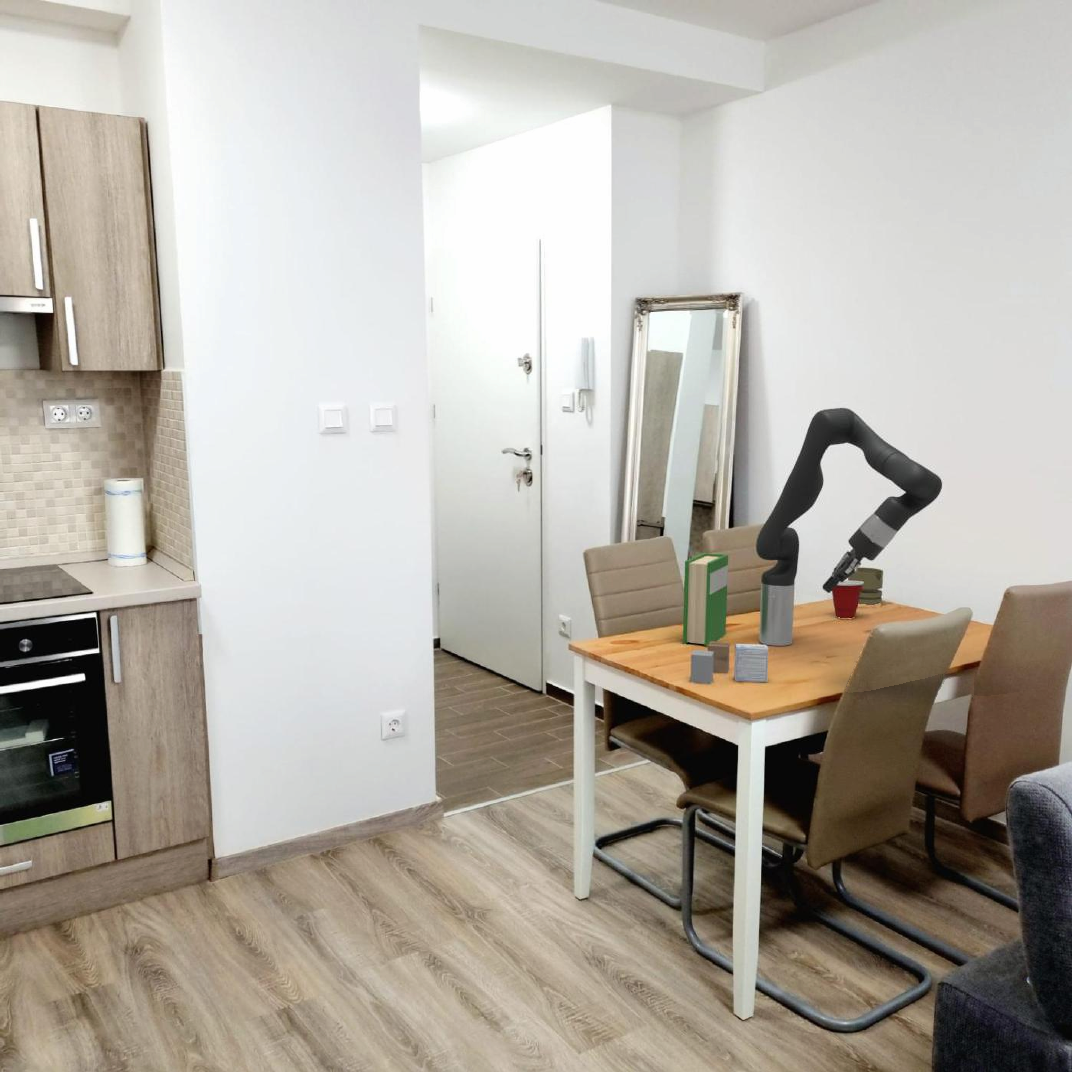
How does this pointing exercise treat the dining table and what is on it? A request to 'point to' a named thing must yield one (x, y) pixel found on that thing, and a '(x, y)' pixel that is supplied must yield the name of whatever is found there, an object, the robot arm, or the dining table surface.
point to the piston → (869, 585)
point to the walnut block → (720, 656)
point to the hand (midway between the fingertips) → (825, 590)
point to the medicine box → (751, 663)
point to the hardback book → (705, 598)
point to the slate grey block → (702, 666)
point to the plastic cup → (846, 598)
